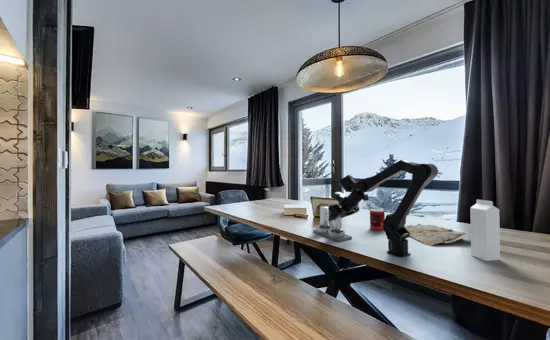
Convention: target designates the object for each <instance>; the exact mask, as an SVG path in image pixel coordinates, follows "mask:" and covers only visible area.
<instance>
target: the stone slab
mask: <svg viewBox="0 0 550 340" xmlns="http://www.w3.org/2000/svg"><path fill="white" fill-rule="evenodd" d="M404 227H405V228H406V229H407V230H408V231H409V233H410V235H409V237H411V238H413V239H414V240H417V241H419V242H421V243H422V244H424V245H425V246H429V247H431V246H434V245H437V244H440V243H442V244H450V243H451V244H452V243H453V242H456V241H459V240H460V239H462V240H463V239H466V238H468V237H471V233H470V234H469V233H466V232H463V231H455V230H453V229H451V228H448V227H443V226H438V225H435V224H433V225H431V224H422V223H421V224H420V223H418V224H415V225H412V224H409V225H405V226H404Z"/></svg>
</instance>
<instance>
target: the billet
mask: <svg viewBox="0 0 550 340" xmlns="http://www.w3.org/2000/svg"><path fill="white" fill-rule="evenodd" d="M342 224H343V221H342V218H341V216H340V217H339V218H337V219H334V220H332V221H331V226H332V232H333V233H342V230H343V228H342Z"/></svg>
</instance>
